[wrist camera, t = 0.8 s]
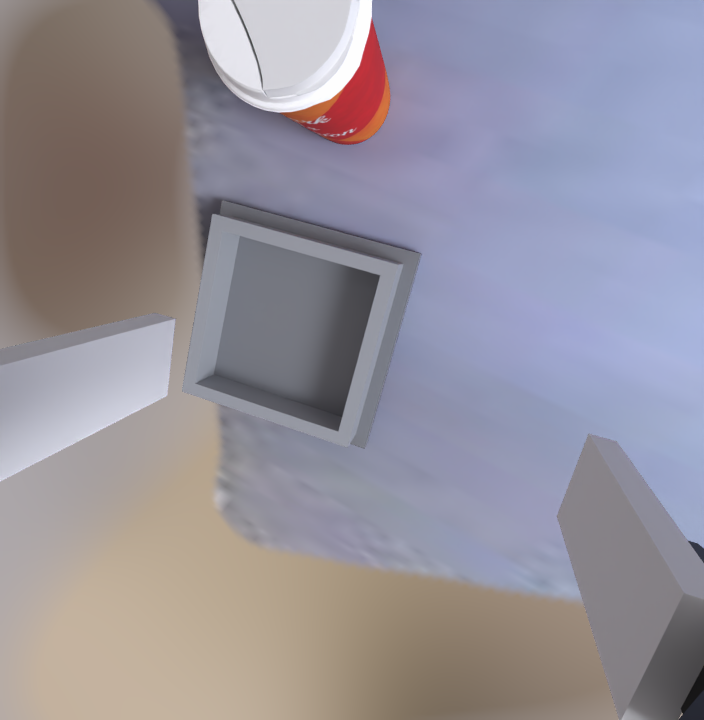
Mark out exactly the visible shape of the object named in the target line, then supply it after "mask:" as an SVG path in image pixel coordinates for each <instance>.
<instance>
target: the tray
mask: <svg viewBox="0 0 704 720" xmlns="http://www.w3.org/2000/svg"><path fill="white" fill-rule="evenodd" d="M421 255H422V254H420V253H417V252H413V251H409V250H406V249H402V248H398V247H394V246H391V245H387V244H383V243H380V242H376V241H372V240H369V239H365V238H361V237H357V236H354V235H350V234H346V233H343V232H339V231H335V230H332V229H328V228H324V227H320V226H317V225H313V224H309V223H306V222H302V221H298V220H295V219H291V218H287V217H283V216H280V215H276V214H272V213H269V212H265V211H261V210H258V209H254V208H250V207H246V206H243V205H239V204H235V203H232V202H228V201H223V200H222V203H221V208H220V214H212V219H211V225H210V230H209V236H208V242H207V248H206V254H205V259H204V265H203V271H202V277H201V283H200V288H199V294H198V300H197V306H196V312H195V318H194V323H193V329H192V336H191V341H190V347H189V352H188V359H187V364H186V370H185V376H184V382H183V387H182V391H183V392H185V393H188V394H191V395H194V396H197V397H200V398H203V399H206V400H209V401H212V402H215V403H218V404H220V405H223V406H226V407H229V408H232V409H235V410H238V411H241V412H244V413H247V414H250V415H253V416H256V417H259V418H262V419H264V420H267V421H270V422H273V423H276V424H279V425H282V426H285V427H288V428H291V429H294V430H297V431H300V432H303V433H306V434H309V435H311V436H314V437H317V438H320V439H323V440H326V441H329V442H332V443H335V444H338V445H341V446H344V447H347V448H348V446H349V445H350V444H352V445H355V446H358V447H361V448H364V449H365V447H366V445H367V442H368V439H369V435H370V432H371V428H372V425H373V421H374V418H375V414H376V411H377V407H378V404H379V400H380V397H381V393H382V390H383V386H384V383H385V380H386V376H387V373H388V369H389V366H390V362H391V359H392V355H393V352H394V348H395V345H396V341H397V338H398V334H399V331H400V328H401V324H402V321H403V317H404V314H405V310H406V307H407V303H408V300H409V296H410V293H411V289H412V286H413V282H414V279H415V275H416V272H417V269H418V265H419V262H420V258H421Z"/></svg>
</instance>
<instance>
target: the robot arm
mask: <svg viewBox="0 0 704 720" xmlns="http://www.w3.org/2000/svg"><path fill="white" fill-rule="evenodd" d="M175 321H176V319H175V318H172V317H168V316H164V315H161V314H157V313H152V314H148V315H144V316H140V317H135V318H131V319H127V320H122V321H118V322H114V323H110V324H105V325H101V326H97V327H93V328H88V329H84V330H80V331H76V332H71V333H67V334H63V335H59V336H54V337H50V338H45V339H41V340H37V341H33V342H28V343H24V344H19V345H15V346H11V347H7V348H2V349H0V481H2V480H4V479H6V478H8V477H10V476H12V475H14V474H16V473H18V472H20V471H22V470H24V469H25V468H27V467H29V466H31V465H33V464H35V463H37V462H39V461H41V460H43V459H45V458H47V457H49V456H51V455H53V454H54V453H57V452H59V451H60V450H62V449H64V448H66V447H68V446H70V445H72V444H74V443H76V442H78V441H80V440H82V439H84V438H86V437H88V436H90V435H92V434H94V433H95V432H97V431H99V430H101V429H103V428H105V427H107V426H109V425H111V424H113V423H115V422H117V421H119V420H121V419H123V418H125V417H127V416H128V415H130V414H132V413H134V412H136V411H138V410H140V409H142V408H144V407H146V406H148V405H150V404H152V403H154V402H156V401H158V400H160V399H162V398H164V397H165V396H167V392H168V383H169V374H170V364H171V356H172V348H173V338H174V330H175ZM557 518H558V521H559V525H560V528H561V531H562V534H563V538H564V541H565V544H566V548H567V551H568V554H569V557H570V561H571V564H572V567H573V570H574V574H575V577H576V580H577V583H578V587H579V590H580V593H581V597H582V600H583V603H584V606H585V609H586V613H587V616H588V619H589V622H590V626H591V629H592V632H593V636H594V639H595V642H596V646H597V649H598V652H599V655H600V658H601V661H602V665H603V668H604V672H605V675H606V678H607V681H608V685H609V688H610V691H611V695H612V698H613V701H614V704H615V707H616V711H617V714H618V717H619V720H678V719H679V717H680V715H681V713H683V715H682V716H681V717H680V719H679V720H704V548H702V547H701V546H700V545H699V544H697V543H694V542H691V541H688V540H687V539H686V538H685V536H684V535H683V533H682V532H681V531H680V529H679V528H678V526H677V525H676V524H675V522H674V521H673V519H672V518H671V517H670V515H669V514H668V512H667V511H666V510H665V508H664V507H663V505H662V504H661V503H660V501H659V500H658V498H657V497H656V496H655V494H654V493H653V491H652V490H651V489H650V487H649V486H648V484H647V483H646V482H645V480H644V479H643V477H642V476H641V475H640V473H639V472H638V470H637V469H636V468H635V466H634V465H633V463H632V462H631V461H630V459H629V458H628V456H627V455H626V454H625V452H624V451H623V449H622V448H621V447H620V445H619V444H618V442H617V441H613V440H610V439H606V438H602V437H599V436H595V435H592V434H588V437H587V439H586V442H585V444H584V447H583V450H582V452H581V455H580V457H579V460H578V463H577V465H576V468H575V470H574V473H573V476H572V478H571V481H570V483H569V486H568V489H567V491H566V494H565V496H564V499H563V502H562V504H561V507H560V509H559V512H558V515H557Z"/></svg>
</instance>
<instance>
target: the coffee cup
mask: <svg viewBox="0 0 704 720" xmlns="http://www.w3.org/2000/svg"><path fill="white" fill-rule="evenodd" d="M198 6H199V20H200V26H201V31H202V34H203V37H204V41H205V44H206V48H207V51H208V54H209V57H210V60H211V62H212V64H213V66H214V68H215V70H216V72H217V74H218V75H219V77H220V78H221V80H222V81H223V82H224V84H225V85H226V86H227V87H228V88H229V89H230V90H231V91H232V92H233V93H234V94H235V95H237V96H238V97H239V98H240V99H242V100H243V101H245V102H247V103H248V104H250V105H252V106H254V107H257V108H260V109H263V110H266V111H271V112H278V113H280V114H282V115H284V116H286V117H288V118H289V119H291V120H293V121H295V122H296V123H298V124H300V125H302V126H304V127H305V128H307V129H309V130H311V131H313V132H315V133H316V134H318V135H320V136H322V137H324V138H326V139H328V140H330V141H333V142H335V143H339V144H345V145H351V144H357V143H360V142H363V141H365V140H367V139H369V138H370V137H371V136H373V135H374V134H375V133H376V132H377V131H378V130H379V129H380V127H381V126H382V124H383V123H384V121H385V119H386V116H387V114H388V110H389V105H390V88H389V82H388V78H387V73H386V69H385V65H384V61H383V58H382V54H381V50H380V46H379V43H378V39H377V35H376V32H375V28H374V24H373V21H372V0H198Z"/></svg>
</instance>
